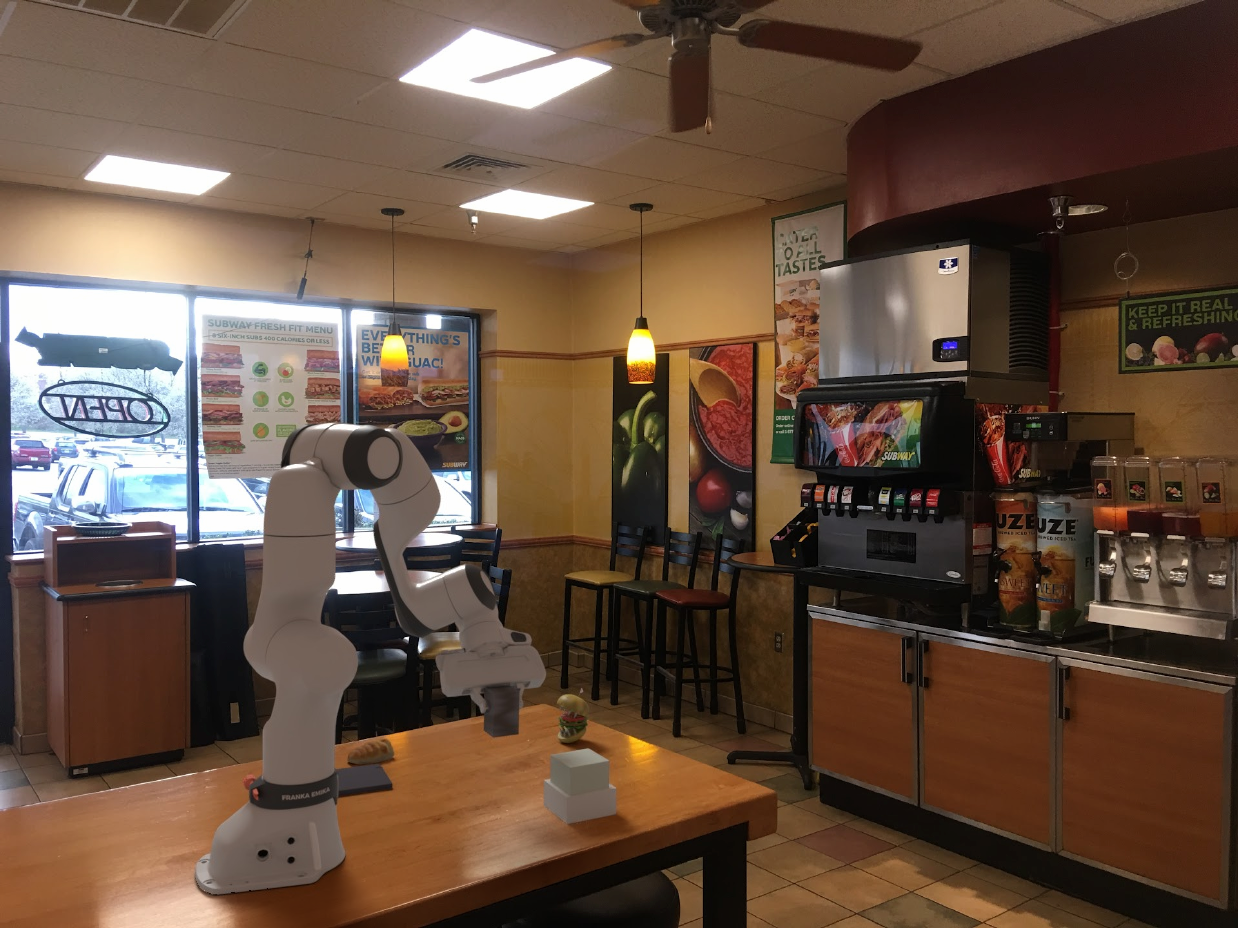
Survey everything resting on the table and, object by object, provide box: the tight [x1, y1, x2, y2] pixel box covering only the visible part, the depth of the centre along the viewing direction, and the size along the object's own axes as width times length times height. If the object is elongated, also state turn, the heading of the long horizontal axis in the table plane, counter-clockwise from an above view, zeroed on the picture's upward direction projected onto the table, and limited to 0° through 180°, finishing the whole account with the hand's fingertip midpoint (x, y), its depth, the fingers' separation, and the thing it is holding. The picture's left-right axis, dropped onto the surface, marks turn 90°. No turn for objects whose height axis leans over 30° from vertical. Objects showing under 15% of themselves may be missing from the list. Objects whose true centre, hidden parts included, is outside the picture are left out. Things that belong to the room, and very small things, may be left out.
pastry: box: [346, 738, 395, 766], centre depth 207 cm, size 9×7×4 cm
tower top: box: [549, 747, 610, 795], centre depth 179 cm, size 8×8×5 cm
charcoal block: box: [483, 685, 520, 739], centre depth 182 cm, size 5×5×8 cm
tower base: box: [543, 778, 617, 825], centre depth 180 cm, size 10×10×5 cm
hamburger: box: [556, 687, 590, 744], centre depth 220 cm, size 8×7×12 cm
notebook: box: [335, 763, 393, 797], centre depth 191 cm, size 13×2×21 cm
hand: (502, 709), depth 181 cm, fingers closed on charcoal block, 5 cm apart
